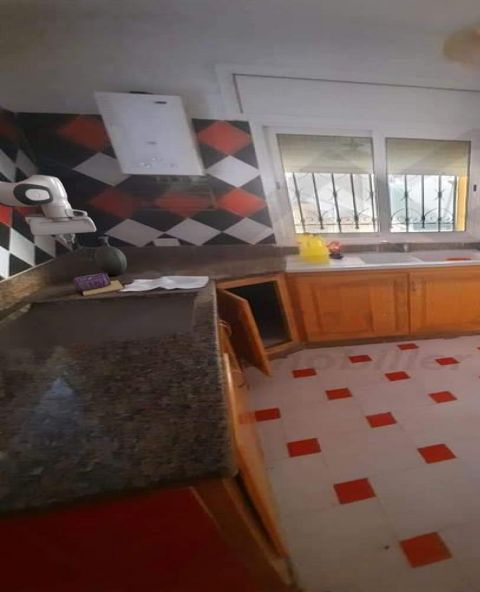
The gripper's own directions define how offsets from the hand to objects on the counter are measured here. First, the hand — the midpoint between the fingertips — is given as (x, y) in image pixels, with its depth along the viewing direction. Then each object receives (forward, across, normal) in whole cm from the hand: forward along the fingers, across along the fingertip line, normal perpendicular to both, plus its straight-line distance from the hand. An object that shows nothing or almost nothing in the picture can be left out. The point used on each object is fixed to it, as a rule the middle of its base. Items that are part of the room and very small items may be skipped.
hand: (70, 243), depth 147 cm
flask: (+23, +13, +29) cm, 39 cm away
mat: (+23, +5, +1) cm, 24 cm away
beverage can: (+20, -4, 0) cm, 20 cm away
